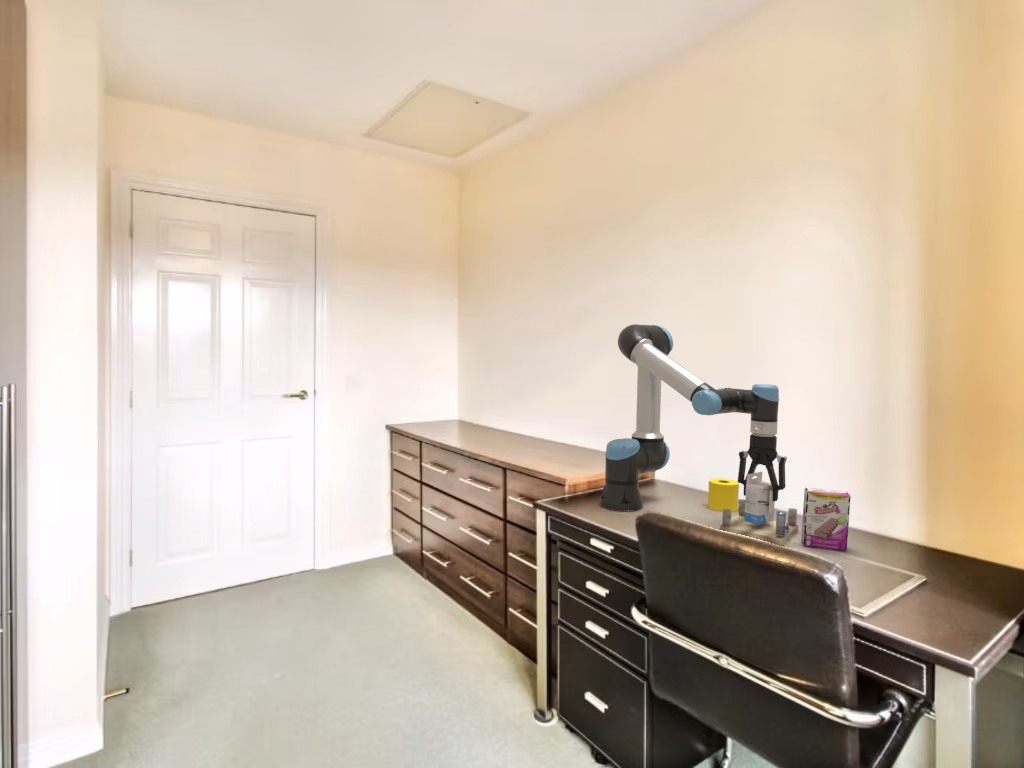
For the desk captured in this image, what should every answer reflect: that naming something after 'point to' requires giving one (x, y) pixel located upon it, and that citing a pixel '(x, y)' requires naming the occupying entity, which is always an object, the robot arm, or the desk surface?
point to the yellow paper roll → (723, 494)
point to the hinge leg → (781, 524)
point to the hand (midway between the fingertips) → (759, 508)
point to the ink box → (757, 500)
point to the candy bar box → (825, 519)
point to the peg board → (758, 526)
